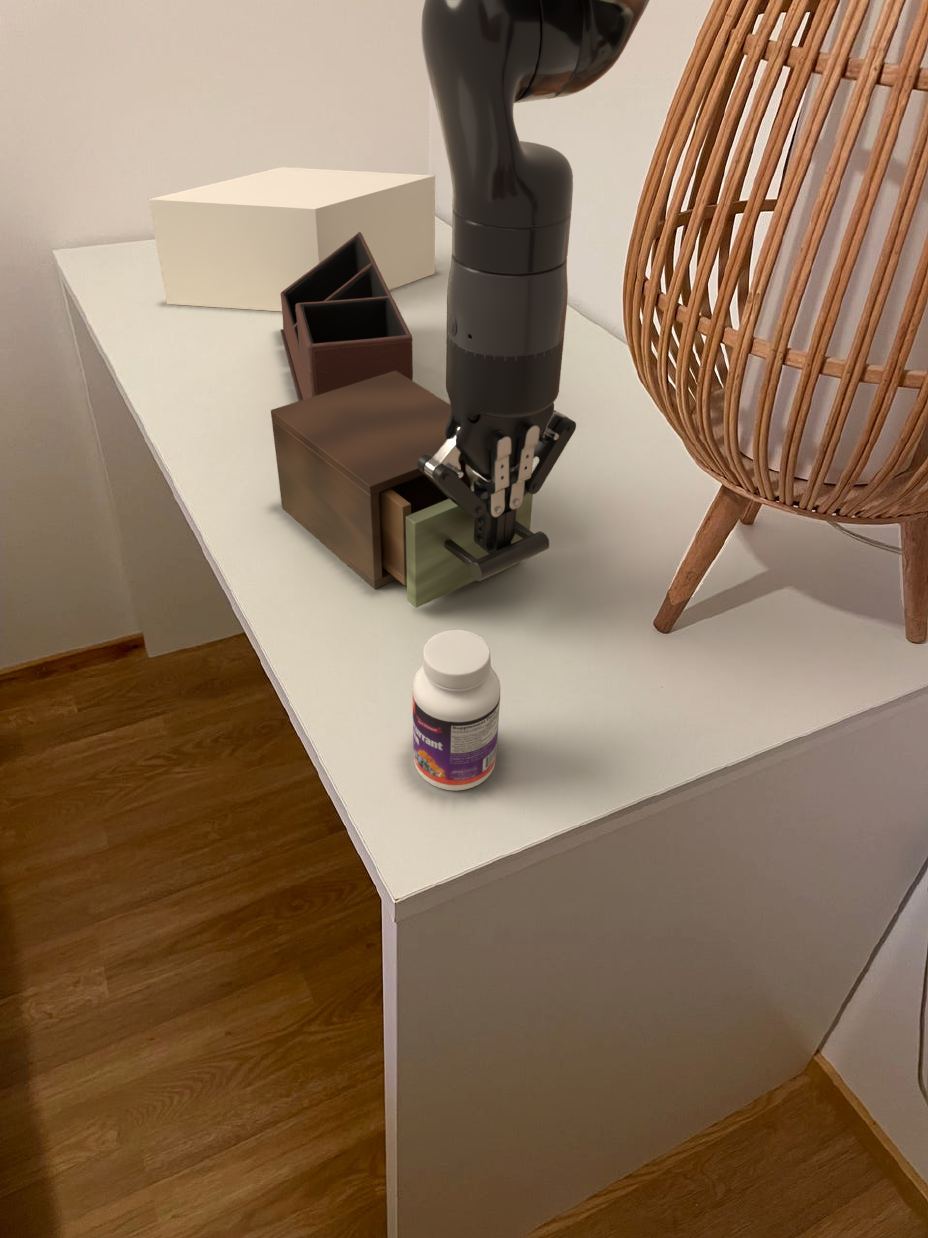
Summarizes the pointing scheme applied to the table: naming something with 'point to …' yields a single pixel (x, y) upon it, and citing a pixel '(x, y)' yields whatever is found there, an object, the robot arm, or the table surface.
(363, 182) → the block
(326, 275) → the desk organizer
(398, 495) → the drawer
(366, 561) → the cabinet
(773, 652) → the table surface
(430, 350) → the table surface
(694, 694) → the table surface
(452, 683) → the pill bottle
